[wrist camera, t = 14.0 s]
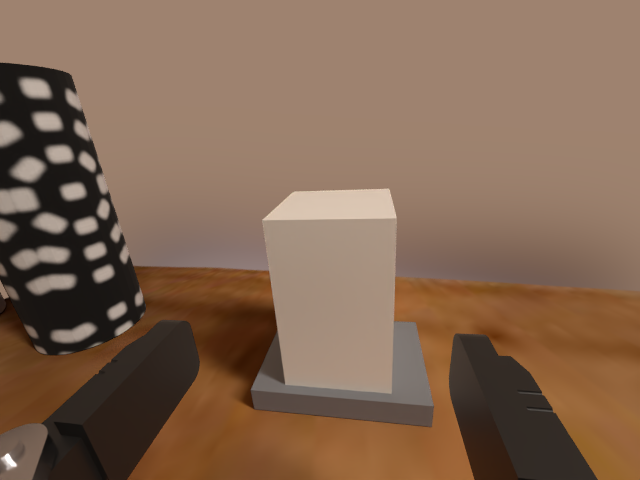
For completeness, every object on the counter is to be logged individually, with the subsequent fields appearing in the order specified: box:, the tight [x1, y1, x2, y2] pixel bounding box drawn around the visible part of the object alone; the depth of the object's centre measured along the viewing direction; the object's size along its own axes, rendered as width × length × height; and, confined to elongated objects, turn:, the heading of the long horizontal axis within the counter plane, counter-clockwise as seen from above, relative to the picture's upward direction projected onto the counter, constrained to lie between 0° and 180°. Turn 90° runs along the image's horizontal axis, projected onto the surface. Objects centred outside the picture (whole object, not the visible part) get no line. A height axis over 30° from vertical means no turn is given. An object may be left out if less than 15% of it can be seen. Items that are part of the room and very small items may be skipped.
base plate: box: [251, 321, 434, 427], centre depth 19 cm, size 10×7×6 cm
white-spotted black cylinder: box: [0, 63, 146, 355], centre depth 24 cm, size 8×8×20 cm
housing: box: [262, 189, 397, 394], centre depth 18 cm, size 6×6×10 cm
